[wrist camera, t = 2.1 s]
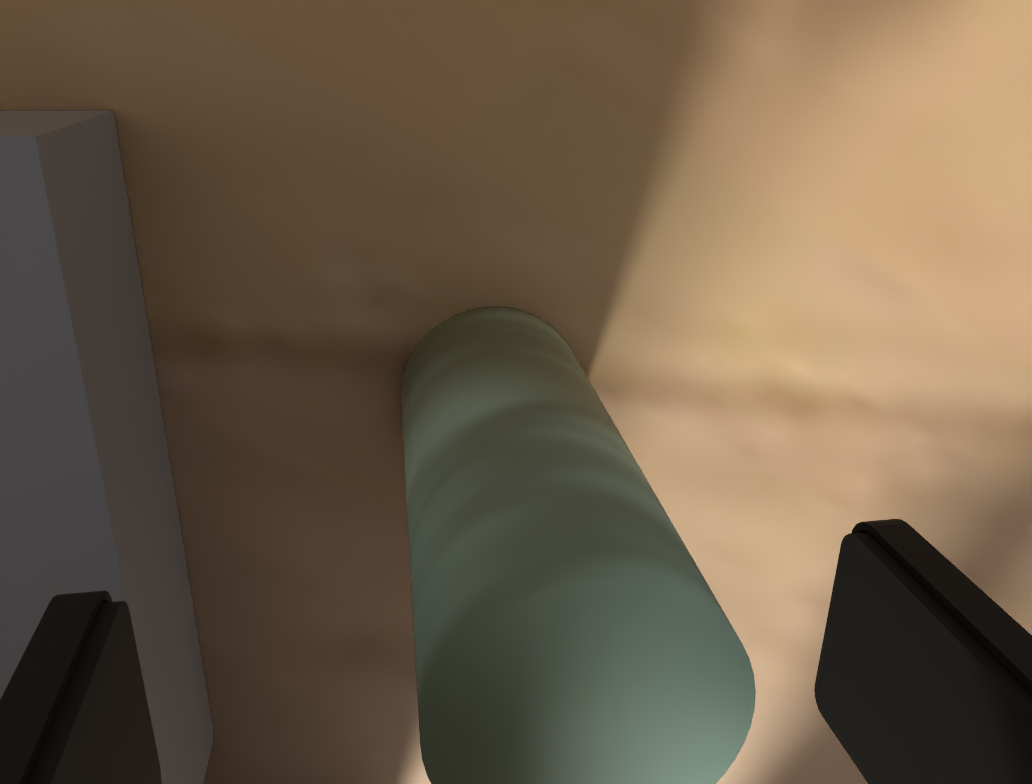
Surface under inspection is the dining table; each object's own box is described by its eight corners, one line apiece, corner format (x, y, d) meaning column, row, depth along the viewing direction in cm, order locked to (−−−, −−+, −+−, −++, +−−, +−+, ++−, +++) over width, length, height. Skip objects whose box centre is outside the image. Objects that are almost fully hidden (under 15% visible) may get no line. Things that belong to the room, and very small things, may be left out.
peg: (584, 303, 19) (775, 569, 10) (576, 468, 20) (735, 829, 11) (397, 309, 18) (414, 597, 9) (404, 478, 20) (425, 866, 11)
